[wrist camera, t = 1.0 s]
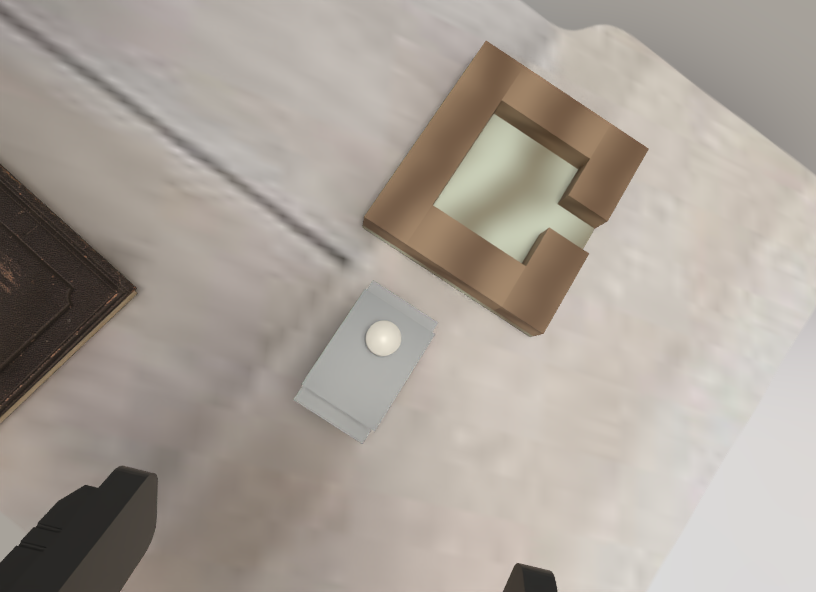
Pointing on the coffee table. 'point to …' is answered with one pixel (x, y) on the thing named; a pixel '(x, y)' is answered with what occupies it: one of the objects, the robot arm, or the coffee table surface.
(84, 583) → the robot arm
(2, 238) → the hardcover book
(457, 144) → the walnut plate
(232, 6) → the coffee table surface
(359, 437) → the block
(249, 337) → the coffee table surface
